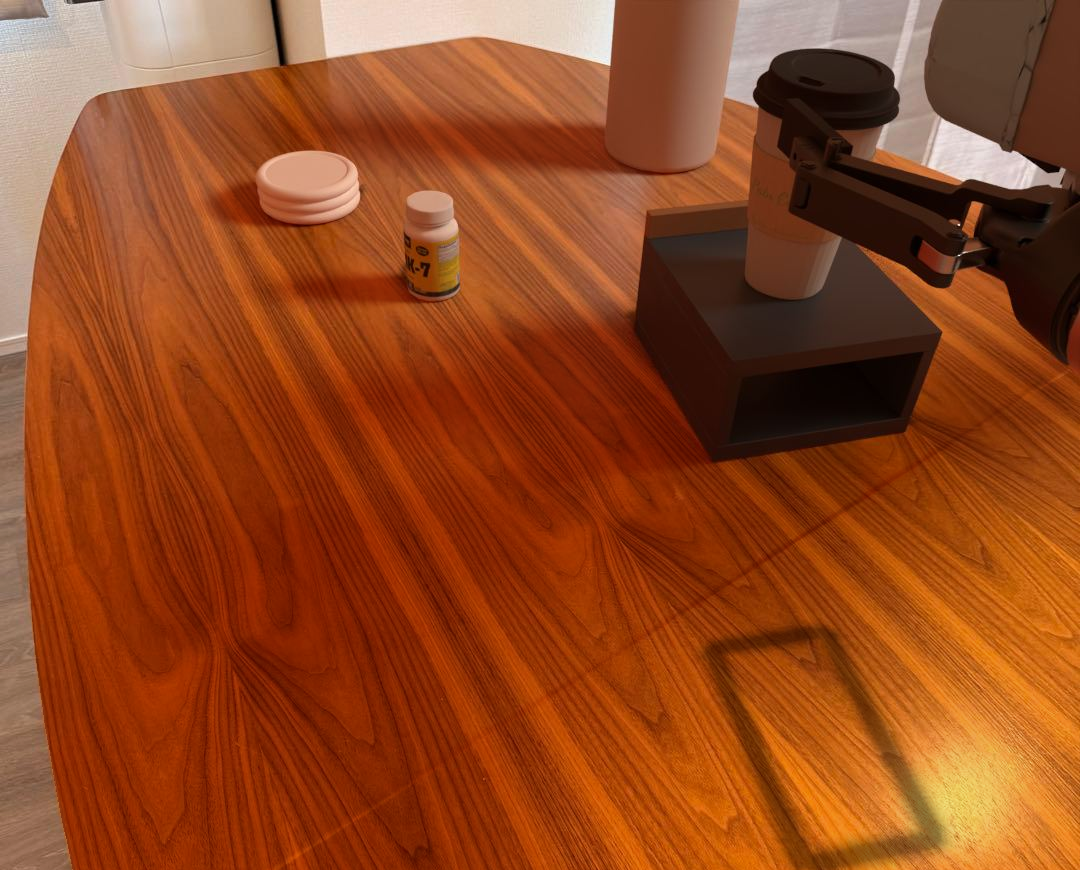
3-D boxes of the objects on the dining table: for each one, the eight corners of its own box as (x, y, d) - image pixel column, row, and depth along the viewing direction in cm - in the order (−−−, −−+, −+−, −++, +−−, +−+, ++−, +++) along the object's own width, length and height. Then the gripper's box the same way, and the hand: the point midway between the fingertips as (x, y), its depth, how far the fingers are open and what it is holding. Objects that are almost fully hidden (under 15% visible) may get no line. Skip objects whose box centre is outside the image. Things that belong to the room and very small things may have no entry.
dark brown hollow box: (905, 432, 75) (952, 306, 67) (712, 463, 72) (737, 335, 64) (802, 308, 87) (831, 190, 79) (633, 330, 84) (646, 209, 76)
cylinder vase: (629, 120, 116) (652, -131, 98) (729, 142, 112) (772, -114, 94) (586, 160, 108) (602, -106, 90) (692, 185, 104) (731, -87, 86)
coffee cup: (714, 301, 70) (751, 87, 60) (728, 240, 77) (764, 37, 66) (847, 321, 69) (909, 105, 58) (850, 257, 75) (906, 52, 65)
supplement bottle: (396, 287, 88) (389, 198, 82) (436, 270, 90) (432, 182, 84) (431, 309, 85) (425, 219, 79) (471, 290, 88) (469, 201, 82)
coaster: (245, 220, 96) (238, 186, 93) (282, 177, 103) (276, 144, 100) (342, 232, 95) (338, 197, 92) (373, 187, 102) (370, 153, 99)
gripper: (859, 412, 43) (685, 195, 57) (1318, 340, 48) (1052, 156, 62) (909, 257, 37) (704, 60, 52) (1420, 193, 42) (1103, 30, 57)
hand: (893, 112), depth 57 cm, fingers open, 13 cm apart
